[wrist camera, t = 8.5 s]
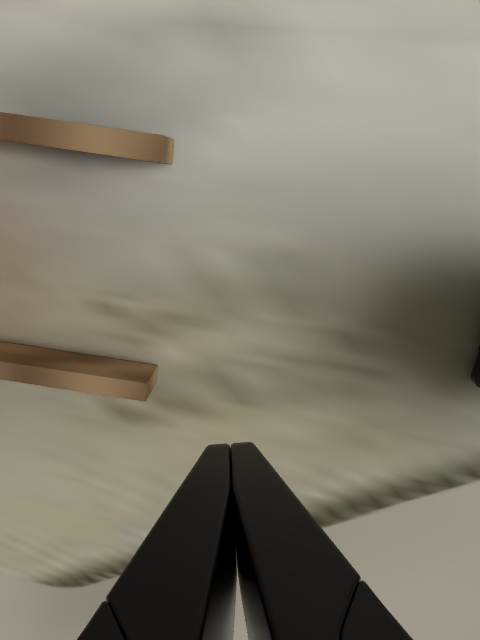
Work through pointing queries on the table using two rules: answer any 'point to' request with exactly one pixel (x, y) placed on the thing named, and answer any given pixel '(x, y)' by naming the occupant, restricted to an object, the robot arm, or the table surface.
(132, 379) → the small wooden bench
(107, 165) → the table surface
